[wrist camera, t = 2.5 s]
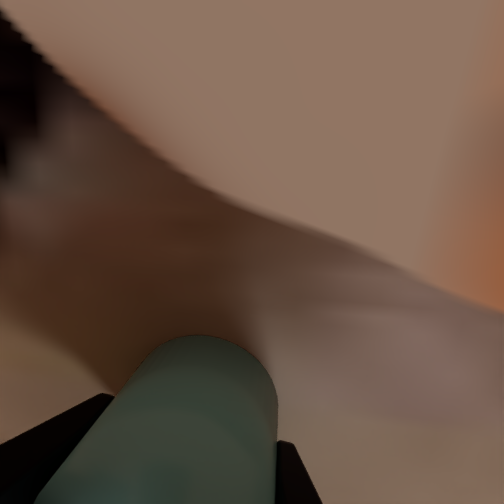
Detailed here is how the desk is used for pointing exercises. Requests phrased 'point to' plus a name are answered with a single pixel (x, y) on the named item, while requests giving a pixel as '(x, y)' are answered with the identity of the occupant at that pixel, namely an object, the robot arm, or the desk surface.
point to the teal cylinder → (179, 433)
